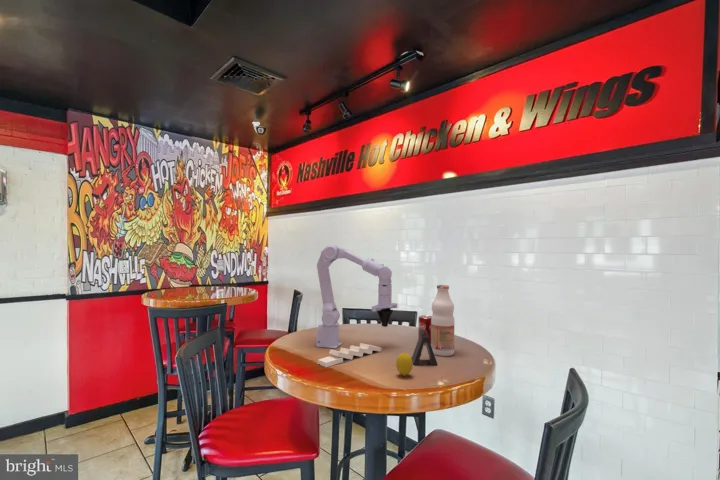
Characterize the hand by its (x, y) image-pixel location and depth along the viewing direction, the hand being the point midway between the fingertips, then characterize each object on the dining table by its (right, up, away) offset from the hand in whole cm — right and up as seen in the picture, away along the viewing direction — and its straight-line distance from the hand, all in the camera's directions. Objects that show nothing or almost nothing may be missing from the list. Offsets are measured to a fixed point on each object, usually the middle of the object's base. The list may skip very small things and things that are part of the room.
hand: (384, 326), depth 154 cm
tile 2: (-7, -9, -7) cm, 13 cm away
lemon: (+4, -9, -33) cm, 35 cm away
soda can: (+20, -10, +9) cm, 24 cm away
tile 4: (-15, -8, -15) cm, 23 cm away
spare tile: (-19, -8, -18) cm, 27 cm away
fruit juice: (+24, -10, -7) cm, 26 cm away
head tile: (-4, -9, -3) cm, 10 cm away
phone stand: (+14, -9, -19) cm, 25 cm away
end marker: (-18, -9, -18) cm, 27 cm away
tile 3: (-11, -8, -11) cm, 18 cm away
